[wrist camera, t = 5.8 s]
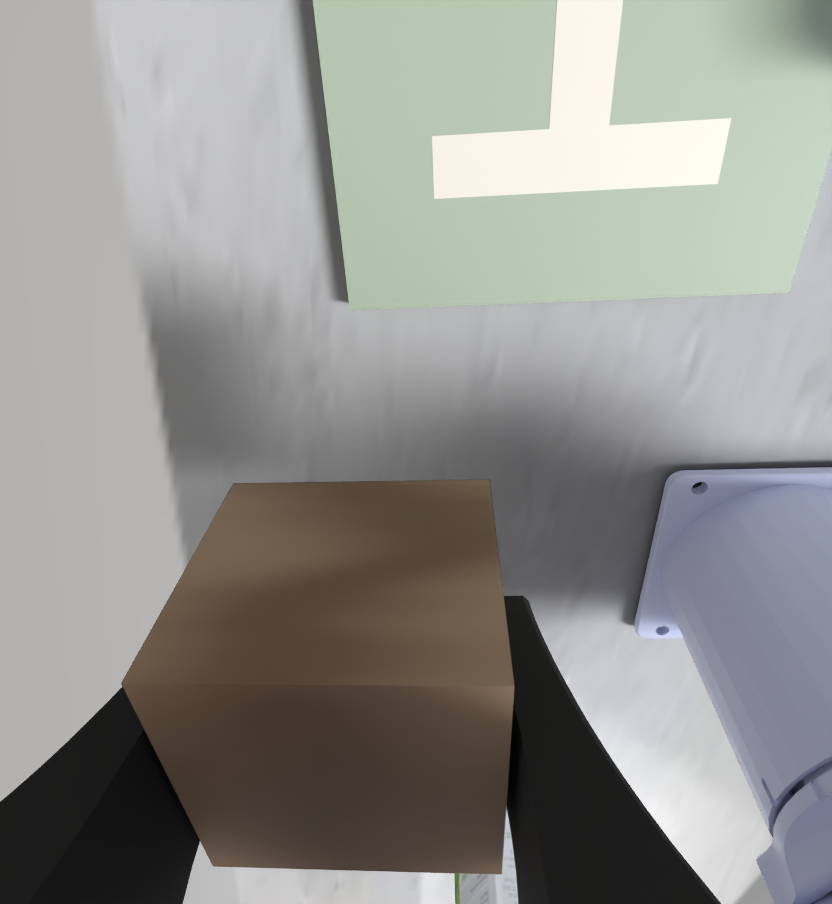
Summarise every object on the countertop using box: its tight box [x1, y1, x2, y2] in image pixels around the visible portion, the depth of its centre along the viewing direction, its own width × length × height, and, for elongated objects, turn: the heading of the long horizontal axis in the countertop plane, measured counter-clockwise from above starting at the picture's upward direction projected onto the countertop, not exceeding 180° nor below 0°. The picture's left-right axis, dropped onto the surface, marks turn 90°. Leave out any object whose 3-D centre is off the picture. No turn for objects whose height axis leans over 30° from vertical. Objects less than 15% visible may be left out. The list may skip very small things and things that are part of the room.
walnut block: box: [121, 480, 515, 875], centre depth 10 cm, size 5×5×4 cm
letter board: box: [313, 0, 832, 310], centre depth 13 cm, size 12×12×1 cm
